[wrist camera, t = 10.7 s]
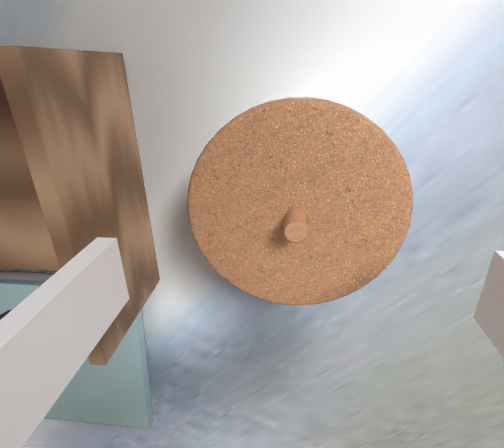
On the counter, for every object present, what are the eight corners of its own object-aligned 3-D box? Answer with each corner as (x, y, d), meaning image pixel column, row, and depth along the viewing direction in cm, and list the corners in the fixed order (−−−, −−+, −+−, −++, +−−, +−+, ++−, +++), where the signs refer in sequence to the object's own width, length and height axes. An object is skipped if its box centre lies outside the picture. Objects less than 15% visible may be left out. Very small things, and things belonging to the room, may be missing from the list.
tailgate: (-101, 268, 29) (-56, 408, 33) (132, 280, 27) (149, 428, 31) (-88, 264, 30) (-46, 400, 34) (137, 274, 27) (153, 419, 32)
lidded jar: (395, 211, 23) (451, 293, 15) (256, 258, 26) (238, 348, 18) (347, 55, 20) (386, 48, 11) (191, 129, 23) (130, 168, 14)
